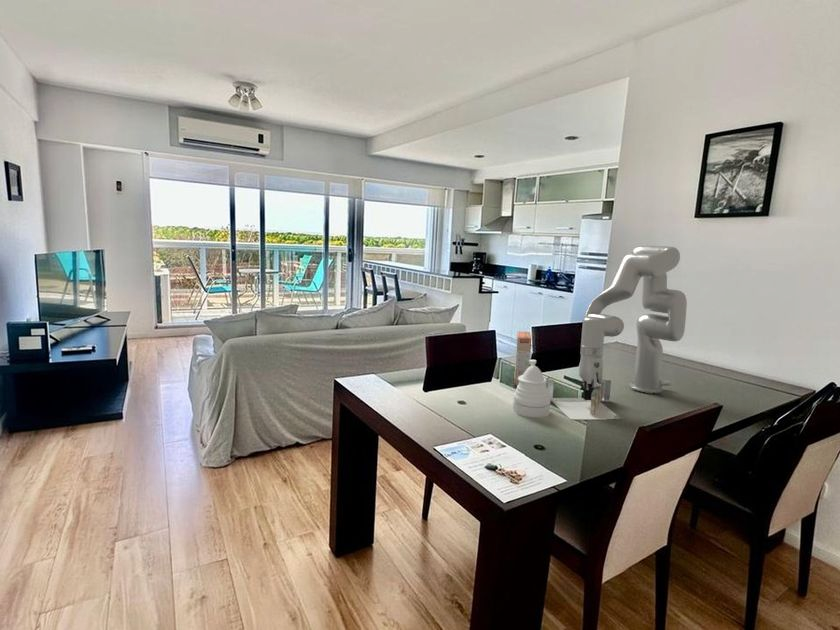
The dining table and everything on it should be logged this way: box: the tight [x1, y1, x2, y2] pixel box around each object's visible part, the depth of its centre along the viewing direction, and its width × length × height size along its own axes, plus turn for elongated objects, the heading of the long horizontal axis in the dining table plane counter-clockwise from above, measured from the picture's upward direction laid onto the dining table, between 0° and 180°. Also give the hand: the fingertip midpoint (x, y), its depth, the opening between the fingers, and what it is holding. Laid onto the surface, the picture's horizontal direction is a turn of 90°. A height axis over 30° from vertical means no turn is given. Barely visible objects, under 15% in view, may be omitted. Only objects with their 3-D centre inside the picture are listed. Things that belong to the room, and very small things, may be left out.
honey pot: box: [512, 359, 551, 418], centre depth 162 cm, size 13×13×18 cm
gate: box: [590, 379, 604, 414], centre depth 167 cm, size 19×2×7 cm, turn 150°
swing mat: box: [552, 402, 617, 421], centre depth 164 cm, size 18×17×1 cm
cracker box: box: [514, 331, 532, 386], centre depth 196 cm, size 14×6×21 cm, turn 168°
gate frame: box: [546, 377, 612, 403], centre depth 174 cm, size 25×3×8 cm, turn 93°
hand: (587, 399), depth 168 cm, fingers closed
